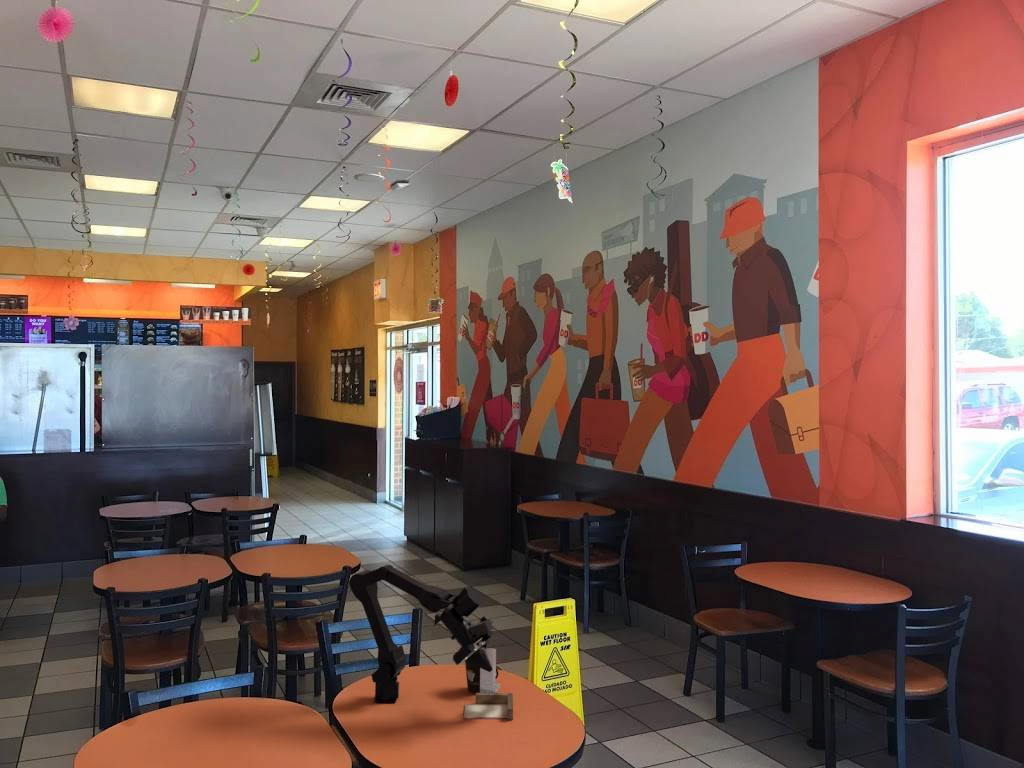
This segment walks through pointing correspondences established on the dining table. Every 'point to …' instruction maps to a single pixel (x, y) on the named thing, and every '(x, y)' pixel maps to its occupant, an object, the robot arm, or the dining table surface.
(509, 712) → the corner fixture
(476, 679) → the coffee mug
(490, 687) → the bracket
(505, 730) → the dining table surface
